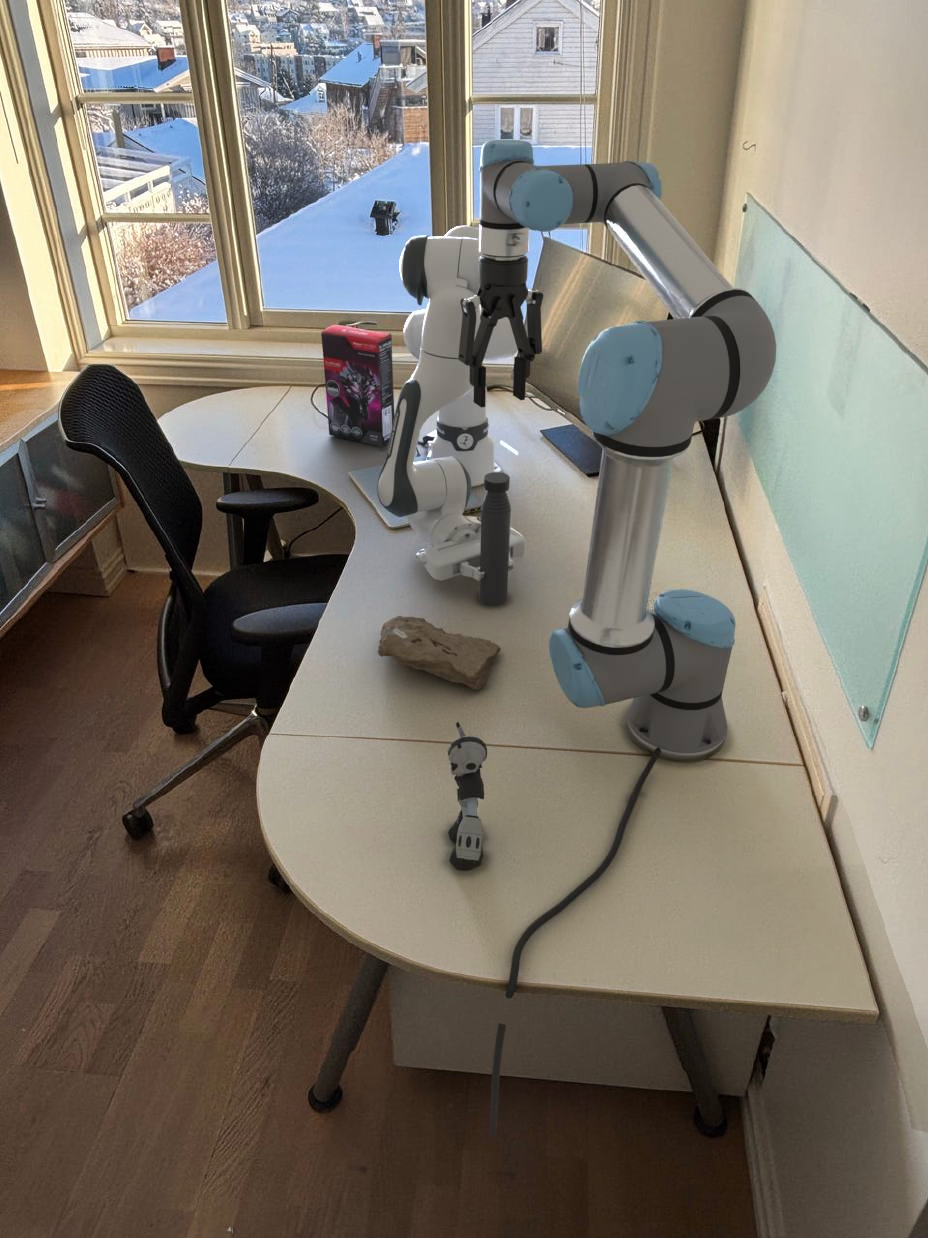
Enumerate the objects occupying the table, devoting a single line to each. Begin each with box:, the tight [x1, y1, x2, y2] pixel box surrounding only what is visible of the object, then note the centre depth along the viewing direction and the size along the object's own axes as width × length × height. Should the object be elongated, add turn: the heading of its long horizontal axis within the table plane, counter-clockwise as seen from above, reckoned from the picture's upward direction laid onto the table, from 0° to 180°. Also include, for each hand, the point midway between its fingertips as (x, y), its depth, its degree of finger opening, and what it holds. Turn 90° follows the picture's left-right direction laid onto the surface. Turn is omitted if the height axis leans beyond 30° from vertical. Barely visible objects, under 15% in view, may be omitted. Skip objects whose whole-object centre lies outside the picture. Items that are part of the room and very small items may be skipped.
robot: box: [447, 721, 488, 871], centre depth 117 cm, size 20×5×20 cm, turn 3°
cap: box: [483, 471, 511, 493], centre depth 161 cm, size 4×4×2 cm
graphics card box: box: [320, 324, 395, 448], centre depth 230 cm, size 17×7×27 cm, turn 62°
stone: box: [377, 615, 502, 691], centre depth 155 cm, size 21×15×6 cm
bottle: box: [479, 491, 512, 608], centre depth 167 cm, size 5×5×25 cm
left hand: (497, 571), depth 170 cm, fingers closed on bottle, 5 cm apart
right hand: (499, 400), depth 152 cm, fingers open, 7 cm apart
